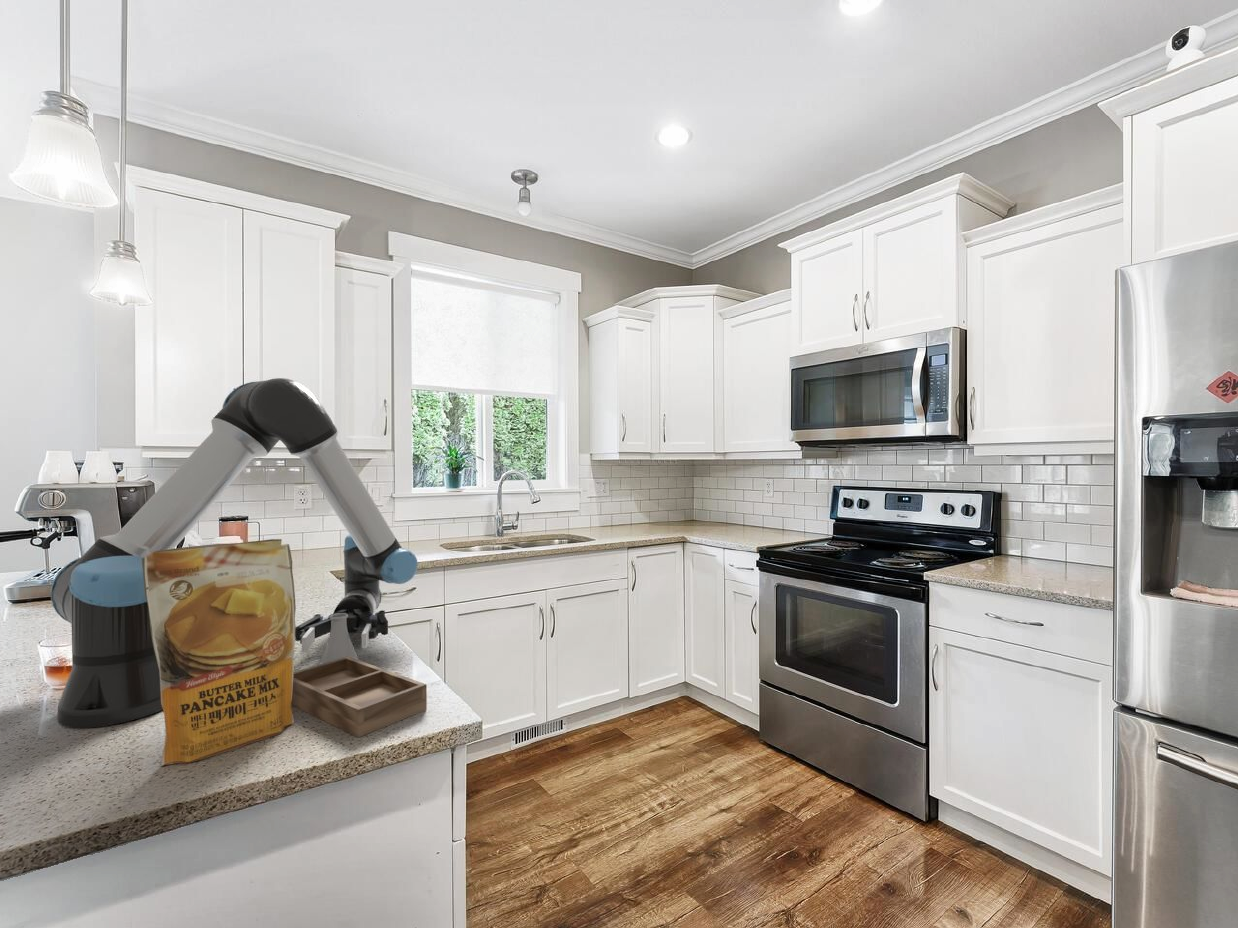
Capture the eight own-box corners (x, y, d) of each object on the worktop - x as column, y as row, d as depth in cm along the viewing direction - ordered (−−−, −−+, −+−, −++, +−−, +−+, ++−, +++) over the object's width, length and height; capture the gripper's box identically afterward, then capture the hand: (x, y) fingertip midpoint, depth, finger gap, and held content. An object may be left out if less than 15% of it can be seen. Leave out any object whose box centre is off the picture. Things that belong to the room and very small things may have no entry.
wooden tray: (426, 709, 96) (426, 684, 96) (358, 737, 86) (358, 709, 86) (348, 678, 109) (348, 656, 109) (281, 699, 99) (281, 675, 99)
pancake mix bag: (138, 760, 80) (135, 549, 80) (291, 712, 95) (289, 534, 94) (151, 777, 76) (148, 555, 75) (309, 725, 90) (307, 538, 90)
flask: (318, 677, 110) (317, 622, 110) (317, 664, 116) (317, 612, 116) (361, 670, 113) (361, 617, 113) (358, 658, 120) (358, 608, 119)
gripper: (408, 624, 135) (398, 658, 113) (299, 632, 129) (267, 668, 108) (408, 591, 135) (398, 618, 113) (299, 597, 129) (266, 626, 107)
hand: (334, 642), depth 110 cm, fingers open, 9 cm apart
